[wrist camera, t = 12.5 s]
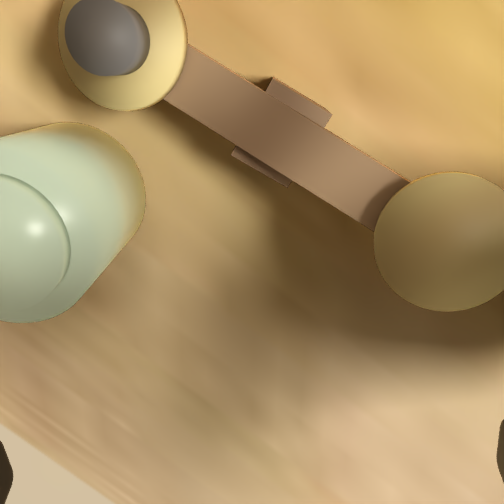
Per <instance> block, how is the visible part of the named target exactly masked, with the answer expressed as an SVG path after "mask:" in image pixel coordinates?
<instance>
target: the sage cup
mask: <svg viewBox="0 0 504 504" xmlns="http://www.w3.org/2000/svg"><path fill="white" fill-rule="evenodd" d="M145 206H146V194H145V186H144V182H143V178H142V176H141V173H140V171H139V168H138V167H137V165H136V163H135V161H134V160H133V158H132V157H131V155H130V154H129V153H128V152H127V150H126V149H125V148H124V147H123V146H122V145H121V144H120V143H119V142H118V141H116V140H115V139H114V138H112V137H111V136H110V135H108V134H107V133H105V132H103V131H101V130H99V129H97V128H94V127H92V126H89V125H85V124H81V123H74V122H60V123H54V124H50V125H46V126H42V127H38V128H34V129H30V130H26V131H22V132H19V133H15V134H11V135H7V136H3V137H0V320H1V321H5V322H13V323H32V322H39V321H43V320H47V319H50V318H53V317H55V316H58V315H60V314H61V313H63V312H65V311H66V310H68V309H69V308H70V307H72V306H73V305H74V304H75V303H76V302H77V301H78V300H79V299H80V298H81V297H82V296H83V294H84V293H85V292H86V291H87V290H88V288H89V287H90V286H91V285H92V284H93V283H94V281H95V280H96V279H97V278H98V277H99V276H100V274H101V273H102V272H103V271H104V270H105V269H106V267H107V266H108V265H109V264H110V263H111V262H112V260H113V259H114V258H115V257H116V256H117V255H118V253H119V252H120V251H121V250H122V249H123V247H124V246H125V245H126V244H127V243H128V242H129V240H130V239H131V238H132V237H133V236H134V235H135V233H136V231H137V230H138V228H139V226H140V224H141V222H142V219H143V216H144V212H145Z"/></svg>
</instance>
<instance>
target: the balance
mask: <svg viewBox="0 0 504 504" xmlns="http://www.w3.org/2000/svg"><path fill="white" fill-rule="evenodd" d="M58 44H59V50H60V54H61V58H62V61H63V64H64V67H65V69H66V71H67V73H68V75H69V77H70V78H71V80H72V81H73V83H74V84H75V86H76V87H77V88H78V89H79V90H80V91H81V92H82V93H83V94H84V95H85V96H86V97H87V98H89V99H90V100H91V101H93V102H95V103H96V104H98V105H100V106H103V107H105V108H108V109H113V110H121V111H136V110H141V109H145V108H148V107H150V106H153V105H154V104H156V103H158V102H159V101H161V100H162V99H164V100H165V101H167V102H169V103H170V104H172V105H173V106H175V107H177V108H178V109H180V110H181V111H183V112H184V113H186V114H188V115H189V116H191V117H192V118H194V119H196V120H197V121H199V122H200V123H202V124H204V125H205V126H207V127H208V128H210V129H211V130H213V131H215V132H216V133H218V134H219V135H221V136H223V137H224V138H226V139H227V140H229V141H231V142H232V143H234V144H235V145H236V146H235V148H234V150H233V152H232V154H231V156H233V157H235V158H236V159H238V160H240V161H242V162H243V163H245V164H247V165H249V166H250V167H252V168H254V169H256V170H257V171H259V172H261V173H263V174H264V175H266V176H268V177H270V178H271V179H273V180H275V181H277V182H278V183H280V184H282V185H283V186H285V187H287V188H288V186H289V185H290V183H291V181H294V182H296V183H297V184H299V185H300V186H302V187H304V188H305V189H307V190H308V191H310V192H312V193H313V194H315V195H316V196H318V197H319V198H321V199H323V200H324V201H326V202H327V203H329V204H331V205H332V206H334V207H335V208H337V209H339V210H340V211H342V212H343V213H345V214H346V215H348V216H350V217H351V218H353V219H354V220H356V221H358V222H359V223H361V224H362V225H364V226H366V227H367V228H369V229H370V230H372V231H373V232H375V233H374V254H375V260H376V263H377V267H378V269H379V271H380V274H381V275H382V277H383V279H384V280H385V282H386V283H387V284H388V286H389V287H390V288H391V289H392V290H393V291H394V292H395V293H396V294H397V295H399V296H400V297H401V298H403V299H404V300H406V301H408V302H410V303H411V304H413V305H416V306H418V307H421V308H425V309H428V310H434V311H443V312H451V311H461V310H466V309H470V308H473V307H476V306H479V305H481V304H483V303H486V302H487V301H489V300H491V299H492V298H494V297H496V296H497V295H498V294H500V293H501V292H502V291H503V290H504V190H502V189H501V188H500V187H498V186H497V185H495V184H493V183H492V182H490V181H488V180H486V179H484V178H481V177H479V176H476V175H473V174H468V173H464V172H440V173H434V174H430V175H426V176H423V177H421V178H419V179H416V180H414V181H412V182H411V181H409V180H407V179H406V178H404V177H403V176H401V175H399V174H398V173H396V172H395V171H393V170H391V169H390V168H388V167H386V166H385V165H383V164H382V163H380V162H378V161H377V160H375V159H374V158H372V157H370V156H369V155H367V154H365V153H364V152H362V151H361V150H359V149H357V148H356V147H354V146H353V145H351V144H349V143H348V142H346V141H344V140H343V139H341V138H340V137H338V136H336V135H335V134H333V133H332V132H330V131H328V130H327V129H325V128H324V127H325V126H326V124H327V122H328V121H329V119H330V118H331V116H332V114H331V113H330V112H329V111H328V110H327V109H325V108H324V107H322V106H320V105H319V104H317V103H316V102H314V101H312V100H311V99H309V98H307V97H306V96H304V95H302V94H301V93H299V92H298V91H296V90H294V89H293V88H291V87H289V86H288V85H286V84H284V83H283V82H281V81H279V80H278V79H276V78H275V77H273V78H272V80H271V82H270V84H269V86H268V88H267V89H266V91H264V90H262V89H260V88H259V87H257V86H256V85H254V84H252V83H251V82H249V81H248V80H246V79H244V78H243V77H241V76H240V75H238V74H236V73H235V72H233V71H231V70H230V69H228V68H227V67H225V66H223V65H222V64H220V63H219V62H217V61H215V60H214V59H212V58H210V57H209V56H207V55H206V54H204V53H202V52H201V51H199V50H198V49H196V48H194V47H193V46H191V45H189V44H188V37H187V28H186V23H185V19H184V16H183V13H182V10H181V8H180V6H179V4H178V2H177V0H64V2H63V5H62V8H61V12H60V16H59V22H58Z"/></svg>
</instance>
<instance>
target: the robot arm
mask: <svg viewBox="0 0 504 504" xmlns="http://www.w3.org/2000/svg"><path fill="white" fill-rule="evenodd" d="M497 464H498V468H499V472H500V474H501V477H502V480H503V482H504V420H503V421H502V422H501V425H500V431H499V439H498V447H497ZM12 481H13V470H12V467H11V465H10V462H9V459H8V457H7V454H6V451H5V449H4V446H3V444H2V442H1V441H0V504H5V501H6V499H7V496H8V493H9V491H10V488H11V485H12Z"/></svg>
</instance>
